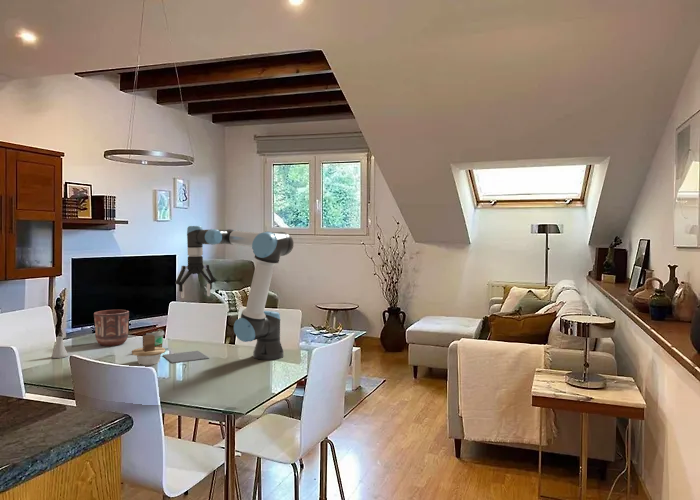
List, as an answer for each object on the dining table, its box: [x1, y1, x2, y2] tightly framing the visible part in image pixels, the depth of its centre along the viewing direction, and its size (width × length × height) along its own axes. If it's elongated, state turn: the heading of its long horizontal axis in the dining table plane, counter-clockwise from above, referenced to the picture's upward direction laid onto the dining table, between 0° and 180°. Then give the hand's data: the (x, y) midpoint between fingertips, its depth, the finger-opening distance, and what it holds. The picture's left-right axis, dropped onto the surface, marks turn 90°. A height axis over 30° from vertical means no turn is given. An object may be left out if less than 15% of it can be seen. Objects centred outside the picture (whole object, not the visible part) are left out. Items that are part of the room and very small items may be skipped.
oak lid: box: [131, 334, 166, 357], centre depth 259 cm, size 15×15×8 cm
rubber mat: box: [162, 350, 210, 364], centre depth 271 cm, size 18×18×1 cm
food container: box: [145, 328, 165, 348], centre depth 286 cm, size 12×6×10 cm, turn 168°
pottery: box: [93, 309, 130, 347], centre depth 300 cm, size 18×18×18 cm
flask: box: [51, 336, 69, 359], centre depth 270 cm, size 7×7×10 cm
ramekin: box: [136, 354, 162, 366], centre depth 259 cm, size 11×11×5 cm
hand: (195, 297), depth 279 cm, fingers open, 13 cm apart
